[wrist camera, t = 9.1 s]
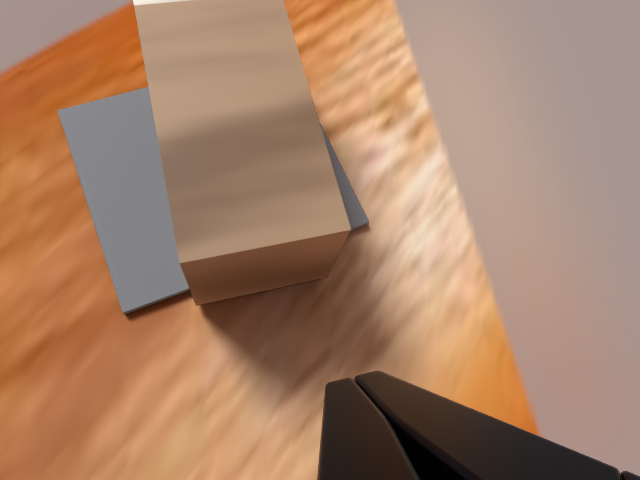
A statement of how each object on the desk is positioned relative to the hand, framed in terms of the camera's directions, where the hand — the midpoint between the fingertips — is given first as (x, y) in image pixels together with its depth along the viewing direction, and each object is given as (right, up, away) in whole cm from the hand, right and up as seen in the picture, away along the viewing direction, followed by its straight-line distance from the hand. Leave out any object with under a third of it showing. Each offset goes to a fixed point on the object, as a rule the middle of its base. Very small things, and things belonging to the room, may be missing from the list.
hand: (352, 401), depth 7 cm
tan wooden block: (-2, +1, +9) cm, 10 cm away
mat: (-5, +5, +14) cm, 15 cm away
